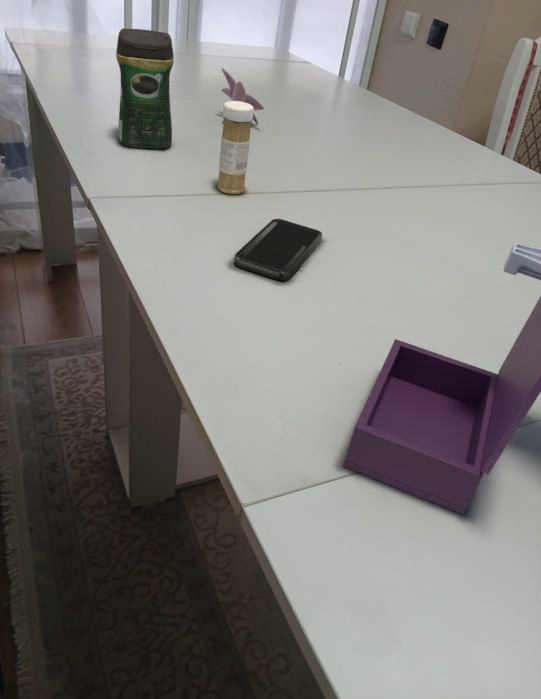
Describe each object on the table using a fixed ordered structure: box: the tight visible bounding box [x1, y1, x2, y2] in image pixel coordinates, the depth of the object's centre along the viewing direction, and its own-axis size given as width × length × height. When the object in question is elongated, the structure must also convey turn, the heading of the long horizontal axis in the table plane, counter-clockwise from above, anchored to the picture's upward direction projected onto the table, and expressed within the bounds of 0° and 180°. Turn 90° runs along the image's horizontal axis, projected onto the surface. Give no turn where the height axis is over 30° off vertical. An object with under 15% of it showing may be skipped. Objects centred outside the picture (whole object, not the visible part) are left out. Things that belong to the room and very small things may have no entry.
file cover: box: [481, 295, 541, 475], centre depth 48 cm, size 11×15×1 cm
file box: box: [342, 338, 498, 515], centre depth 55 cm, size 11×15×5 cm
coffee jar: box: [115, 27, 175, 149], centre depth 104 cm, size 10×8×19 cm
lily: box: [221, 67, 265, 126], centre depth 124 cm, size 12×12×10 cm
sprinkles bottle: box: [217, 100, 255, 195], centre depth 93 cm, size 5×5×14 cm
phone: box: [233, 218, 323, 282], centre depth 82 cm, size 8×1×15 cm
